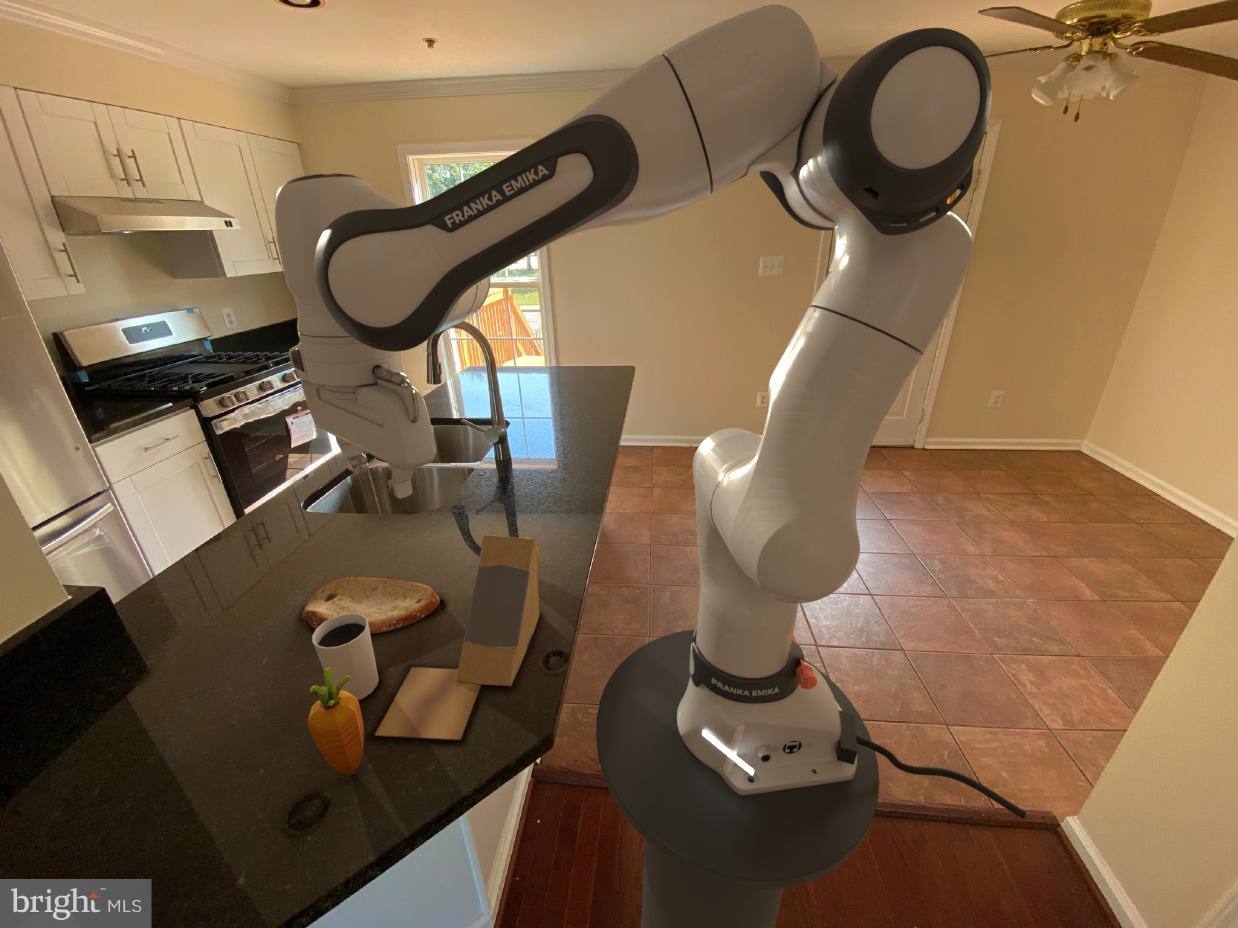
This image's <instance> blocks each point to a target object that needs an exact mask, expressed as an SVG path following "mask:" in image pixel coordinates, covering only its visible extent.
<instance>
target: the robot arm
mask: <svg viewBox="0 0 1238 928" xmlns="http://www.w3.org/2000/svg"><path fill="white" fill-rule="evenodd" d="M839 76H840V73H839V72H837V71H833V70H832V69H830V68H829V67H828V66H827V65H826V63H825V62H824V60H822V59H821V57H820V52H819V48H818V45H817V42H816V40H815V37H814V35H813V32H812V31H811V29H810V27H809V26H808V24H807V23H806V21H805V20H804V19H803V17H802V16H801V15H800V14H799V13H797V12H796V11H795V10H794V9H792V8H790V7H788V6H786V5H781V4H768V5H763V6H760V7H756V8H754V9H751V10H748V11H744V12H742V13H739V14H737V15H734V16H732V17H730V18H727V19H723V20H722V21H720V22H717V23H715V24H712V25H711V26H709V27H706V28H704V29H702V30H700V31H698V32H696V33H694V34H692V35H690V36H688V37H686V38H684V39H682V40H680V41H679V42H677V43H675V44H674V45H673V44H672V46H670V47H668V48H666V49H665V50H663V51H662V52H660V53H657V54H656V55H654V56H653V57H652V58H650V59H648V60H647V61H645V62H644V63H642V64H641V65H639V66H637V67H635V69H633V70H632V71H630V72H629V73H628V74H626V75H625V76H623V77H622V78H620V79H619V80H618V81H616V82H615V83H613V84H612V85H610V86H609V87H608V88H607V89H605V90H604V91H603V92H602V93H600V95H598V96H597V97H596V98H594V99H593V100H592V101H590V102H589V103H588V104H587V105H586V106H584V107H583V108H581V109H580V110H578V111H577V112H576V113H574V114H573V115H572V116H571V117H569V118H567V119H566V120H565V121H563V122H562V123H561V124H560V125H558V126H557V127H556V128H554V129H553V130H552V131H550V132H549V133H547V134H546V135H545V136H543V137H542V138H540V139H537V140H535V142H532V143H531V144H529V145H527V146H526V147H524V148H521V149H520V150H518V151H516V152H514V153H512V154H511V155H509V156H507V157H505V158H503V159H501V160H499V161H497V162H496V163H494V164H492V165H491V166H488V167H487V168H485V169H483V170H482V171H479V172H478V173H476V174H474V175H472V176H471V177H469V178H466V179H465V180H463V181H462V182H459V183H458V184H456V185H454V186H452V187H450V188H448V189H446V190H444V191H443V192H441V193H439V194H438V195H435V196H434V197H432V198H429V199H428V200H425V201H423V202H420V203H418V204H414V205H411V206H404V205H402V204H399V203H398V202H396V201H394V200H393V199H390V198H389V197H387V196H386V195H385V194H382V193H381V192H379V191H378V190H376V189H375V188H374V187H373V186H372V185H371V184H370V183H369V182H368V181H367V180H365V179H364V178H362V177H359V176H355V175H353V174H347V173H325V174H324V173H317V174H308V175H303V176H299V177H296V178H292V179H289V180H288V181H286V183H284V184H283V185H282V186H281V187H279V189H278V190H277V192H276V196H275V201H274V223H275V231H276V232H275V233H276V240H277V245H278V250H279V256H280V260H281V265H282V270H283V274H284V279H285V283H286V286H287V288H288V290H289V291H290V293H291V295H292V296H293V299H294V301H295V305H296V308H297V323H296V328H297V329H296V330H297V335H298V338H299V342H298V344H297V345H295V346H293V347H291V348H289V351H288V356H289V360H290V363H291V366H292V368H293V369H294V370H295V371H298V372H299V380H300V385H301V388H302V392H303V395H304V398H305V402H306V404H307V407H308V410H309V413H310V416H311V418H312V420H313V422H314V423H315V425H316V426H317V427H318V428H319V429H320V430H323V431H324V432H326V433H329V434H331V435H332V436H334V437H335V441H336V444H337V446H338V447H339V449H340V451H341V453H342V456H344V458H345V461H346V462H345V463H346V467H347V469H348V471H350V472H352V473H354V474H357V475H359V474H361V473H365V472H367V471H368V470H369V463H368V456H367V455H365V454H364V452H365V453H367V454H370V455H371V456H374V457H376V458H378V459H380V460H381V461H383V462H385V463H387V465H388V469H389V471H391V479H389V480H387V486H388V488H389V493H390V495H392V496H393V497H395V498H397V499H400V500H401V499H404V498H407V497H409V496H411V495H412V494H413V486H412V478H413V474H414V472H415V469H417V468H420V467H423V466H426V465H428V464H431V463H432V462H434V460H435V457H436V455H437V447H436V441H435V436H434V430H433V427H432V422H431V417H430V415H429V414H430V413H429V410H428V407H427V404H426V402H425V398H424V397H423V395H422V393H421V391H419V390H418V389H417V388H415V387H414V386H412V384H411V382H410V381H409V377H408V376H407V375H406V374H405V372H406V371H405V363H404V356H403V352H405V351H408V350H411V349H412V350H413V349H414V348H416V347H418V346H421V345H423V344H424V343H425V342H427V340H429V339H432V337H434V336H435V335H436V334H439V333H442V332H443V331H446V330H448V329H450V328H452V327H454V326H456V325H459V324H460V323H462V322H464V321H466V320H467V319H469V318H471V317H472V316H473V315H474V314H476V313H477V312H478V311H479V310H480V309H481V308H482V307H483V305H484V304H485V302H486V300H487V298H488V295H489V292H490V287H491V277H492V276H494V275H495V274H497V273H499V272H501V271H502V270H504V269H507V268H508V267H510V266H512V265H513V264H515V263H517V262H519V261H521V260H523V259H525V258H526V257H528V256H531V255H532V254H534V253H536V252H537V251H539V250H541V249H543V248H545V247H547V246H548V245H550V244H552V243H555V242H556V241H558V240H561V239H563V238H566V237H569V236H572V235H575V234H577V233H581V232H586V231H589V230H594V229H600V228H609V227H610V228H611V227H624V226H626V227H627V226H628V227H629V226H636V225H640V224H644V223H647V222H652V221H654V220H657V219H661V218H664V217H666V216H670V215H671V214H675V213H676V212H679V211H681V210H684V209H686V208H688V207H690V206H692V205H695V204H696V203H698V202H701V201H703V200H704V199H706V198H709V197H710V196H712V195H713V194H715V193H717V192H719V191H721V190H722V189H724V188H726V187H728V186H729V185H732V184H733V183H735V182H737V181H739V180H741V179H743V178H746V177H747V176H750V175H752V174H755V173H759V176H760V178H761V179H762V181H763V182H764V183H765V184H766V186H767V187H768V188H769V190H770V191H771V192H772V193H773V194H774V196H775V197H776V199H777V200H778V202H779V204H780V206H781V207H782V208H783V210H784V211H785V212H786V213H787V215H788V216H789V217H790V218H791V219H792V220H794V221H795V222H796V223H798V224H799V225H800V226H803V227H806V228H808V229H811V230H816V231H825V232H827V231H834V235H835V243H834V253H833V257H832V261H831V264H830V267H829V269H828V272H827V273H828V274H827V276H826V278H825V279H824V281H823V282H822V284H821V286H820V287H819V289H818V290H817V292H816V294H815V296H814V298H813V299H812V300H811V303H810V305H809V307H808V308H807V310H806V312H805V314H804V315H803V317H802V319H801V321H800V323H799V324H798V326H797V328H796V330H795V332H794V333H793V335H792V336H791V339H790V340H789V342H788V344H787V346H786V348H785V350H784V352H783V353H782V355H781V357H780V359H779V361H778V363H776V366H775V368H774V369H773V372H772V373H771V375H770V378H769V381H768V387H767V388H768V389H767V392H768V406H767V415H766V418H765V422H764V426H763V430H762V434H759V433H757V432H753V431H751V430H747V429H745V428H741V427H727V428H723V429H719V430H716V431H715V432H713V433H711V434H710V435H708V436H707V437H706V438H705V439H704V440H703V441H702V442H701V443H700V444H699V446H698V447H697V449H696V451H695V453H694V456H693V459H692V476H693V485H694V492H695V493H694V495H695V519H696V520H695V522H696V539H697V541H696V542H697V554H698V564H699V565H698V566H699V583H700V584H699V601H698V612H697V625H696V627H695V628H694V630H695V631H694V634H693V640H692V644H691V651H690V665H689V669H690V674H691V676H690V680H689V683H688V686H687V689H686V692H685V694H684V696H683V698H682V700H681V702H680V704H679V707H678V710H677V725H678V729H679V733H680V735H681V737H682V739H683V741H684V743H685V745H686V746H687V747H688V749H689V750H690V751H691V752H692V753H693V754H694V756H696V757H697V758H698V759H699V760H700V761H701V762H703V763H704V764H706V765H707V766H709V767H710V768H712V769H713V770H715V771H716V772H718V773H719V774H720V775H721V776H722V778H723V779H724V780H725V782H726V783H727V784H728V785H729V786H730V788H731V789H732V790H733V791H735V792H736V793H737V794H739V795H751V794H758V793H765V792H772V791H779V790H786V789H793V788H800V787H806V786H813V785H820V784H827V783H834V782H841V781H847V780H851V779H853V778H854V776H855V773H856V768H857V743H858V744H860V745H862V746H865V747H867V748H870V749H872V750H874V751H875V753H878V754H880V755H881V756H883V757H885V758H886V759H887V760H888V761H889V762H890V763H891V765H892V766H893V767H895V768H896V769H898V770H900V771H902V772H905V773H908V774H911V775H916V776H933V777H934V776H935V777H942V778H943V777H944V778H948V779H951V780H955V781H957V782H959V783H962V784H964V785H967V786H969V787H971V788H972V789H974V790H976V791H977V792H979V793H981V794H983V795H984V796H986V797H988V798H989V799H991V800H992V801H994V802H995V803H997V804H999V805H1000V806H1001V807H1003V808H1005V809H1006V810H1008V811H1009V812H1011V813H1013V814H1014V815H1016V816H1017V817H1019V818H1021V819H1022V820H1025V818H1026V816H1027V811H1025V810H1024V809H1023V808H1020V807H1019V806H1017V805H1016V804H1014V803H1012V802H1011V801H1009V800H1008V799H1006V798H1004V797H1003V796H1002V795H1000V794H998V793H997V792H996V791H994V790H992V789H990V788H989V787H987V786H986V785H984V784H982V783H980V782H979V781H977V780H975V779H973V778H970V777H969V776H967V775H964V774H962V773H960V772H957V771H954V770H951V769H947V768H942V767H932V766H915V765H909V764H906V763H903V762H901V761H900V760H899V759H898V758H897V756H895V755H894V753H892V752H891V751H890V750H888V749H887V748H885V747H884V746H882V745H880V744H878V743H876V742H873V741H872V742H871V741H869V740H866V739H864V738H861V737H859V736H857V735H856V730H855V719H854V714H851V713H847V712H844V711H842V710H841V708H840V706H839V705H838V703H837V702H836V700H835V698H834V696H833V694H832V692H831V689H830V688H829V686H828V684H827V682H826V681H825V679H824V678H823V676H822V675H821V674H820V673H819V671H818V670H817V669H815V668H814V667H813V666H811V665H809V664H807V663H806V662H804V659H805V654H804V651H803V649H802V647H801V645H799V644H798V642H797V640H796V636H795V635H794V631H795V626H796V622H797V621H796V620H797V614H798V611H799V604H809V603H812V602H817V601H819V600H822V599H825V598H827V597H828V596H830V595H832V594H834V593H835V592H836V591H838V590H839V589H841V587H843V586H844V584H846V583H847V581H848V580H849V579H850V578H851V576H852V574H853V573H854V571H855V569H856V567H857V565H858V562H859V559H860V554H861V542H860V537H859V531H858V526H857V503H858V495H859V489H860V486H861V485H860V484H861V481H862V475H863V473H864V468H865V465H866V461H867V458H868V455H869V453H870V450H871V446H872V443H873V441H874V439H875V437H876V434H877V432H878V430H879V428H880V426H881V425H882V422H883V421H884V420H885V418H886V416H887V415H888V413H889V411H890V410H891V408H892V406H893V405H894V403H895V401H896V399H897V398H898V396H899V394H900V393H901V391H902V390H903V388H904V387H905V385H906V384H907V382H908V380H909V379H910V377H911V376H912V374H913V372H914V371H915V370H916V368H917V366H918V364H919V363H920V361H921V360H922V358H923V356H924V355H925V354H926V352H927V351H928V349H929V347H930V346H931V344H932V342H933V341H934V339H935V338H936V336H937V334H938V333H939V331H940V329H941V327H942V325H943V324H944V322H945V320H946V318H947V317H948V314H949V312H950V311H951V308H952V306H953V304H954V302H955V300H956V299H957V296H958V294H959V292H960V289H961V287H962V285H963V282H964V281H965V278H966V275H967V273H968V270H969V267H970V265H971V263H972V259H973V257H974V249H975V242H974V239H973V234H972V233H971V231H970V229H969V227H968V226H967V225H966V224H965V222H964V221H963V220H962V219H961V217H958V216H957V215H956V214H955V213H954V212H952V210H953V209H954V208H955V207H956V206H957V205H958V204H959V203H960V202H961V201H962V199H963V198H964V197H965V196H966V194H967V193H968V191H969V190H970V187H971V185H972V182H973V174H974V164H975V159H976V157H977V154H978V153H979V150H980V148H981V145H982V143H983V140H984V137H985V134H986V131H987V128H988V124H989V119H990V112H991V107H992V95H993V94H992V93H993V92H992V89H993V86H992V78H991V76H992V75H991V71H990V68H989V65H988V62H987V59H986V57H985V56H984V54H983V52H982V51H981V49H980V48H979V46H978V45H977V44H976V43H975V42H974V41H973V40H972V39H971V38H970V37H968V36H967V35H965V34H963V33H961V32H960V31H957V30H954V29H951V28H945V27H925V28H924V27H923V28H919V29H914V30H911V31H907V32H904V33H901V34H899V35H897V36H893V37H891V38H890V39H887V40H886V41H883V42H882V43H880V44H878V45H877V46H875V47H873V48H872V49H870V50H869V51H867V52H866V53H864V55H862V56H861V57H860V58H859V59H858V60H856V61H855V62H854V63H853V65H851V66H850V67H849V68H848V70H847V71H846V73H844V75H842V76H840V78H839ZM958 190H959V193H958V194H957V196H956V197H955V198H954V199H953V200H952V201H951V202H950V203H948V201H949V200H950V199H951V197H952V196H953V195H954V194H955V193H956V192H957V191H958ZM748 780H752V781H753V782H754V783H750V782H749V781H748Z"/></svg>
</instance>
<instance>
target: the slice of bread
mask: <svg viewBox="0 0 1238 928" xmlns="http://www.w3.org/2000/svg"><path fill="white" fill-rule="evenodd" d="M438 606H440V596H439V595H438V594H437V593H436V592H435V590H434V589H433V588H431V587H430V586H429V585H426V584H422V583H418V582H415V581H414V582H413V581H408V580H399V579H391V578H378V577H376V578H375V577H355V576H353V577H352V576H351V577H341V578H339V579H336V580H333V581H331V582H329V583H328V584H326V585H324V586H323V587H321V589H319V590H318V591H317V592H316V593H315V594H313V596H312V597H311V598H310V599H309V601H308V602H307V604H306V605H305V607H304V609H303V611H302V615H301V616H302V619H303V620H304V621H305V622H307V624H308V626H310V627H311V628H313V629H314V630H316V629H317V628H318V627H319V626H320V625H321V624H322V623H324V622H325V621H327V620H329V619H331V618H333V617H335V616H339V615H342V614H347V613H357V614H362V615H364V616H365V617H366V618H367V620H368V625H369V630H370V634H379V633H387V632H390V631H393V630H397V629H400V628H403V627H407V626H409V625H412V624H414V623H416V622H417V621H420V620H422V619H424V618H425V617H428V615H430V614H431V613H432V612H433V611H435V610H436V608H437V607H438Z"/></svg>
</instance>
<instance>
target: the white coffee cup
mask: <svg viewBox="0 0 1238 928" xmlns="http://www.w3.org/2000/svg"><path fill="white" fill-rule="evenodd" d="M311 638H312V639H311V640H312V644H313V647H314V649H315V652H316V654H317V657H318V659H319V662H320V664H321V668H322V671H324V670H325V669H327V668H330V667H331V670H332V681H333V688H336V686H337V685H338V683H339V682H340V681H341V680H342V679H343V678H344V677H346V676H347V675H348V676H350V677H351V679H349V680H348V681H347V682H346V683H345V684H344V685H343V687H342V688H341V690H340V691H347V692H348V693H350V694H352V695H353V696H355V697H356V698H357V699H358V701H359V700H362V699H364V698H366V697H367V696H368V695H370V694H371V693H372V692H373V691H374V690H375V689H376V687H377V686H378V685H379V680H380V679H379V673H378V669H377V662H376V657H375V653H374V646H373V642H372V641H373V640H372V636H371V633H370V630H369V625H368V620H367V618H366V617H365V616H364V615H362V614H357V613H347V614H342V615H339V616H335V617H333V618H331V619H329V620H327V621H325V622H324V623H322V624H321V625H320V626H319V627H318V628H317V629H314V632H313V634H312V636H311Z"/></svg>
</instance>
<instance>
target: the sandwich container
mask: <svg viewBox="0 0 1238 928" xmlns="http://www.w3.org/2000/svg"><path fill="white" fill-rule="evenodd" d="M536 544H537V541H536V539H534V538H530V539H525V538H522V537H513V536H503V535H491V534H490V535H489V534H484V535H483V536H482V541H481V548H480V554H479V559H478V566H477V572H476V576H475V583H474V588H473V593H472V597H471V601H470V602H471V603H470V607H469V614H468V617H467V623H466V628H465V634H464V638H463V643H462V648H461V653H460V657H459V663H458V667H457V669H458V671H457V676H456V681H463V682H470V683H477V684H482V685H488V686H506V687H512V686H513V683H514V680H515V679H516V676H517V673H518V672H519V670H520V667H521V665H522V662H523V660H524V657H525V655H526V653H527V650H528V648H529V645H530V642H531V639H532V637H533V635H534V633H535V630H536V627H537V623H538V621H539V618H540V601H539V581H538V566H537V558H536Z"/></svg>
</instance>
